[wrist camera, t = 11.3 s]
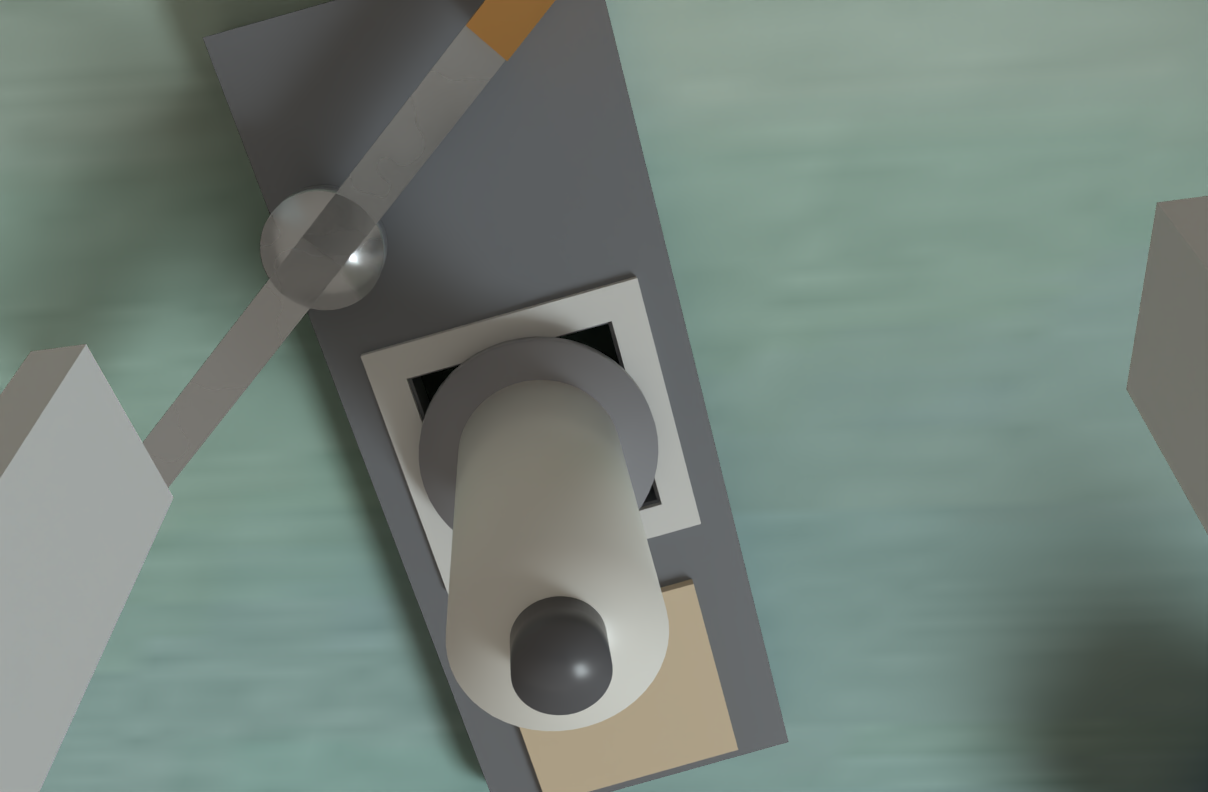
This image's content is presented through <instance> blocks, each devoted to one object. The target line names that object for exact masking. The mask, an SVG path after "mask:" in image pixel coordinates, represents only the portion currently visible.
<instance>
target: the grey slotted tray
mask: <svg viewBox="0 0 1208 792" xmlns="http://www.w3.org/2000/svg"><path fill="white" fill-rule="evenodd" d="M483 1H484V0H334V1H330V2H327V3H323V4H320V5H316V6H313V7H309V8H306V9H302V10H299V11H295V12H292V13H288V14H285V15H281V16H277V17H274V18H270V19H267V20H263V21H260V22H256V23H253V24H249V25H246V26H242V27H239V28H235V29H232V30H228V31H225V32H221V33H218V34H214V35H211V36H207V37H203V40H204V42H205V45H206V48H207V50H208V53H209V56H210V58H211V61H212V63H213V66H214V69H215V71H216V74H217V77H218V79H219V82H220V84H221V87H222V90H223V92H224V95H225V98H226V100H227V103H228V105H229V108H230V111H231V113H232V116H233V119H234V121H235V124H236V126H237V129H238V132H239V134H240V137H241V140H242V142H243V145H244V147H245V150H246V153H247V155H248V158H249V161H250V163H251V166H252V168H253V171H254V174H255V176H256V179H257V182H258V184H259V187H260V189H261V192H262V195H263V197H264V200H265V203H266V205H267V208H268V210H269V213H270V215H271V213H272V212H273V211H274V210H275V209H276V207H277V206H278V205H279V204H280V203H281V202H282V201H283V200H284V199H285V198H286V197H288V196H289V195H290V194H292V193H293V192H295V191H297V190H299V189H301V188H304V187H307V186H310V185H316V184H331V185H337V186H341V185H342V184H343V183H344V181H345V180H346V179H347V177H348V176H349V175H350V174H351V172H352V171H353V170H354V168H355V167H356V166H357V165H358V163H359V162H360V161H361V159H362V158H363V157H364V155H365V154H366V153H367V152H368V150H369V149H370V148H371V146H372V145H373V144H374V143H375V141H376V140H377V139H378V137H379V136H380V135H381V134H382V132H383V131H384V130H385V128H386V127H387V126H388V124H389V123H390V122H391V121H392V119H393V118H394V117H395V115H396V114H397V113H398V112H399V110H400V109H401V108H402V106H403V105H404V104H405V102H406V101H407V100H408V99H409V97H410V96H411V95H412V93H413V92H414V91H415V90H416V88H417V87H418V86H419V84H420V83H421V82H422V81H423V79H424V78H425V77H426V75H427V74H428V73H429V71H430V70H431V69H432V68H433V66H434V65H435V64H436V62H437V61H438V60H439V59H440V57H441V56H442V55H443V53H444V52H445V51H446V49H447V48H448V47H449V46H450V44H451V43H452V42H453V40H454V39H455V38H456V37H457V35H458V34H459V33H460V31H461V30H462V29H463V28H464V26H465V25H466V24H467V22H468V21H469V19H470V18H471V17H472V15H473V14H474V13H475V12H476V10H477V9H478V8H479V6H480V5H481V4H482V2H483ZM381 220H382V222H383V225H384V228H385V231H386V235H387V255H386V260H385V263H384V266H383V269H382V271H381V274H380V277H379V279H378V281H377V283H376V284H375V285H374V287H373V288H372V290H371V291H370V292H369V293H368V294H367V295H366V296H365V297H363V298H362V299H361V300H359V301H358V302H356V303H354V304H352V305H350V306H348V307H344V308H341V309H335V310H316V309H311V308H310V309H309V310H308V311H307V313H308V315H309V318H310V321H311V323H312V326H313V328H314V331H315V334H316V336H317V339H318V342H319V344H320V347H321V349H322V352H323V355H324V357H325V360H326V363H327V365H328V368H329V370H330V373H331V376H332V378H333V381H334V384H335V386H336V389H337V391H338V394H339V397H340V399H341V402H342V405H343V407H344V410H345V412H346V415H347V418H348V420H349V423H350V426H351V428H352V431H353V433H354V436H355V439H356V441H357V444H358V447H359V449H360V452H361V454H362V457H363V460H364V462H365V465H366V468H367V470H368V473H369V475H370V478H371V481H372V483H373V486H374V489H375V491H376V494H377V496H378V499H379V502H380V504H381V507H382V510H383V512H384V515H385V517H386V520H387V523H388V525H389V528H390V531H391V533H392V536H393V538H394V541H395V544H396V546H397V549H398V552H399V554H400V557H401V559H402V562H403V565H404V567H405V570H406V573H407V575H408V578H409V580H410V583H411V586H412V588H413V591H414V593H415V596H416V599H417V601H418V604H419V607H420V609H421V612H422V614H423V617H424V620H425V622H426V625H427V628H428V630H429V633H430V635H431V638H432V641H433V643H434V646H435V649H436V651H437V654H438V656H439V659H440V662H441V664H442V667H443V670H444V672H445V675H446V677H447V680H448V683H449V685H450V688H451V691H452V693H453V696H454V698H455V701H456V704H457V706H458V709H459V712H460V714H461V717H462V719H463V722H464V725H465V727H466V730H467V733H468V735H469V738H470V740H471V743H472V746H473V748H474V751H475V754H476V756H477V759H478V761H479V764H480V767H481V769H482V772H483V775H484V777H485V780H486V782H487V785H488V788H489V790H490V792H611V791H615V790H618V789H622V788H626V787H629V786H633V785H636V784H640V783H643V782H647V781H651V780H654V779H658V778H661V777H665V776H668V775H672V774H676V773H679V772H683V771H686V770H690V769H693V768H697V767H701V766H704V765H708V764H711V763H715V762H719V761H722V760H726V759H729V758H733V757H736V756H740V755H744V754H747V753H751V752H754V751H758V750H761V749H765V748H769V747H772V746H776V745H779V744H783V743H786V742H788V738H787V734H786V730H785V726H784V722H783V718H782V714H781V710H780V706H779V702H778V698H777V694H776V690H775V686H774V682H773V678H772V674H771V670H770V666H769V662H768V657H767V653H766V649H765V645H764V641H763V637H762V633H761V629H760V625H759V621H758V617H757V613H756V609H755V605H754V601H753V597H752V593H751V589H750V585H749V581H748V577H747V572H746V568H745V564H744V560H743V556H742V552H741V548H740V544H739V540H738V536H737V532H736V528H735V524H734V520H733V516H732V512H731V508H730V504H729V500H728V496H727V492H726V488H725V483H724V479H723V475H722V471H721V467H720V463H719V459H718V455H717V451H716V447H715V443H714V439H713V435H712V431H711V427H710V423H709V419H708V415H707V411H706V407H705V403H704V398H703V394H702V390H701V386H700V382H699V378H698V374H697V370H696V366H695V362H694V358H693V354H692V350H691V346H690V342H689V338H688V334H687V330H686V326H685V322H684V318H683V314H682V309H681V305H680V301H679V297H678V293H677V289H676V285H675V281H674V277H673V273H672V269H671V265H670V261H669V257H668V253H667V249H666V245H665V241H664V237H663V233H662V229H661V224H660V220H659V216H658V212H657V208H656V204H655V200H654V196H653V192H652V188H651V184H650V180H649V176H648V172H647V168H646V164H645V160H644V156H643V152H642V148H641V144H640V140H639V135H638V131H637V127H636V123H635V119H634V115H633V111H632V107H631V103H630V99H629V95H628V91H627V87H626V83H625V79H624V75H623V71H622V67H621V63H620V59H619V55H618V50H617V46H616V42H615V38H614V34H613V30H612V26H611V22H610V18H609V14H608V10H607V6H606V2H605V0H555V1H554V3H553V4H552V5H551V6H550V8H549V9H548V10H547V12H546V13H545V14H544V15H543V17H542V18H541V19H540V20H539V22H538V23H537V24H536V25H535V27H534V28H533V29H532V31H531V32H530V33H529V34H528V36H527V37H526V38H525V39H524V41H523V42H522V43H521V44H520V46H519V47H518V48H517V50H516V51H515V52H514V53H513V55H512V56H511V57H510V58H509V60H508V61H506V60H505V62H504V63H503V64H502V65H501V67H500V68H499V69H498V71H497V72H496V73H495V74H494V76H493V77H492V78H491V79H490V81H489V82H488V83H487V84H486V86H485V87H484V88H483V90H482V91H481V92H480V93H479V95H478V96H477V97H476V98H475V100H474V101H473V102H472V103H471V105H470V106H469V107H468V109H467V110H466V111H465V112H464V114H463V115H462V116H461V117H460V119H459V120H458V121H457V122H456V124H455V125H454V126H453V128H452V129H451V130H450V131H449V133H448V134H447V135H446V136H445V138H444V139H443V140H442V141H441V143H440V144H439V145H438V147H437V148H436V149H435V150H434V152H433V153H432V154H431V155H430V157H429V158H428V159H427V160H426V162H425V163H424V164H423V166H422V167H421V168H420V169H419V171H418V172H417V173H416V174H415V176H414V177H413V178H412V179H411V181H410V182H409V183H408V185H407V186H406V187H405V188H404V190H403V191H402V192H401V193H400V195H399V196H398V197H397V198H396V200H395V201H394V202H393V204H392V205H391V206H390V207H389V209H388V210H387V211H386V212H385V214H384V215H383V216H382V217H381ZM604 324H608V327H609V330H610V334H611V338H612V341H613V345H614V349H615V352H616V356H617V359H618V363H619V365H620V366H621V367H622V368H623V369H624V370H625V371H626V372H627V373H628V374H629V375H630V376H631V377H632V378H633V379H634V381H635V382H636V384H637V385H638V387H639V388H640V389H641V391H642V393H643V395H644V397H645V399H646V401H647V403H648V405H649V408H650V410H651V413H652V416H653V419H654V422H655V426H656V431H657V436H658V462H657V469H656V473H655V477H654V481H653V483H652V486H651V489H650V491H649V494H648V495H647V497H646V499H645V501H644V503H643V504H642V506H641V508H640V509H639V512H640V516H641V520H642V523H643V527H644V531H645V534H646V538H647V541H648V545H649V549H650V552H651V556H652V559H653V563H654V567H655V570H656V574H657V577H658V581H659V585H660V588H661V592H662V595H663V599H664V603H665V606H666V610H667V615H668V620H669V639H668V647H667V651H666V655H665V658H664V661H663V663H662V665H661V668H660V670H659V672H658V673H657V675H656V677H655V679H654V680H653V682H652V683H651V684H650V685H649V687H648V688H647V689H646V691H645V692H644V693H643V694H642V695H641V696H640V697H639V698H638V699H637V700H636V701H634V702H633V703H632V704H631V705H629V706H628V707H627V708H626V709H624V710H622V711H621V712H619V713H617V714H616V715H614V716H612V717H610V718H608V719H606V720H604V721H602V722H599V723H596V724H593V725H590V726H587V727H583V728H578V729H574V730H565V731H539V730H531V729H526V728H522V727H518V726H515V725H512V724H509V723H506V722H504V721H502V720H500V719H498V718H495V717H493V716H492V715H490V714H489V713H487V712H486V711H484V710H483V709H481V708H480V707H479V706H478V705H477V704H475V703H474V702H473V701H472V700H471V699H470V698H469V697H468V696H467V694H466V693H465V692H464V691H463V690H462V688H461V687H460V685H459V684H458V682H457V681H456V679H455V677H454V674H453V672H452V670H451V667H450V664H449V661H448V657H447V650H446V624H447V609H448V594H449V579H450V565H451V550H452V535H453V530H452V529H451V528H450V527H449V526H448V525H447V524H446V523H445V522H444V520H443V519H442V518H441V517H440V516H439V514H438V513H437V511H436V510H435V508H434V507H433V505H432V503H431V502H430V500H429V497H428V495H427V493H426V491H425V488H424V485H423V481H422V478H421V474H420V466H419V442H420V435H421V429H422V423H423V420H424V417H425V414H426V410H427V408H428V406H429V404H430V402H429V399H428V396H427V393H426V390H425V387H424V384H423V382H422V379H421V376H423V375H427V374H430V373H434V372H437V371H441V370H444V369H448V368H451V367H455V366H459V365H460V364H462V363H463V362H464V361H466V360H467V359H469V358H470V357H472V356H473V355H475V354H476V353H478V352H480V351H482V350H484V349H486V348H488V347H490V346H493V345H496V344H499V343H501V342H504V341H508V340H513V339H518V338H524V337H536V336H540V337H556V338H558V337H561V336H565V335H569V334H572V333H576V332H579V331H583V330H586V329H590V328H593V327H597V326H600V325H604Z"/></svg>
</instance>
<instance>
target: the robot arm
mask: <svg viewBox="0 0 1208 792" xmlns="http://www.w3.org/2000/svg"><path fill="white" fill-rule="evenodd" d="M1126 389H1127V391H1128V393H1129V395H1130V396H1131V398H1132V400H1133V402H1134V404H1135V405H1136V407H1137V409H1138V411H1139V412H1140V414H1141V416H1142V418H1143V420H1144V421H1145V423H1146V425H1147V427H1148V429H1149V430H1150V432H1151V434H1152V436H1153V437H1154V439H1155V441H1156V443H1157V445H1158V446H1159V448H1160V450H1161V452H1162V454H1163V455H1164V457H1165V459H1166V461H1167V462H1168V464H1169V466H1170V468H1171V470H1172V471H1173V473H1174V475H1175V477H1176V479H1177V480H1178V482H1179V484H1180V486H1181V487H1182V489H1183V491H1184V493H1185V495H1186V496H1187V498H1188V500H1189V502H1190V504H1191V505H1192V507H1193V509H1194V511H1195V512H1196V514H1197V516H1198V518H1199V520H1200V521H1201V523H1202V525H1203V527H1204V529H1205V530H1206V532H1207V534H1208V196H1203V197H1195V198H1188V199H1180V200H1173V201H1165V202H1158V203H1157V205H1156V211H1155V218H1154V224H1153V230H1152V236H1151V242H1150V248H1149V254H1148V260H1147V266H1146V272H1145V279H1144V285H1143V291H1142V297H1141V303H1140V309H1139V315H1138V321H1137V327H1136V333H1135V340H1134V346H1133V352H1132V358H1131V364H1130V370H1129V376H1128V382H1127V388H1126ZM172 500H173V496H172V494H171V492H170V490H169V489H168V487H167V485H166V483H165V482H164V480H163V478H162V476H161V475H160V473H159V471H158V469H157V468H156V466H155V464H154V462H153V460H152V459H151V457H150V455H149V453H148V452H147V450H146V448H145V446H144V445H143V443H142V441H141V439H140V438H139V436H138V434H137V432H136V431H135V429H134V427H133V425H132V424H131V422H130V420H129V418H128V417H127V415H126V413H125V411H124V410H123V408H122V406H121V404H120V403H119V401H118V399H117V397H116V395H115V394H114V392H113V390H112V388H111V387H110V385H109V383H108V381H107V380H106V378H105V376H104V374H103V373H102V371H101V369H100V367H99V366H98V364H97V362H96V360H95V359H94V357H93V355H92V353H91V352H90V350H89V348H88V346H87V345H86V344H83V345H76V346H68V347H60V348H53V349H45V350H38V351H31V352H30V353H29V355H28V356H27V358H26V359H25V361H24V362H23V363H22V365H21V366H20V368H19V369H18V370H17V372H16V373H15V375H14V376H13V378H12V379H11V380H10V382H9V383H8V385H7V386H6V388H5V389H4V390H3V392H2V393H1V395H0V792H40V789H41V787H42V785H43V783H44V781H45V778H46V776H47V774H48V772H49V770H50V767H51V765H52V763H53V761H54V759H55V756H56V754H57V752H58V750H59V748H60V745H61V743H62V741H63V739H64V737H65V734H66V732H67V730H68V728H69V726H70V724H71V721H72V719H73V717H74V715H75V713H76V710H77V708H78V706H79V704H80V702H81V699H82V697H83V695H84V693H85V691H86V688H87V686H88V684H89V682H90V680H91V677H92V675H93V673H94V671H95V669H96V666H97V664H98V662H99V660H100V658H101V655H102V653H103V651H104V649H105V647H106V644H107V642H108V640H109V638H110V636H111V633H112V631H113V629H114V627H115V625H116V623H117V620H118V618H119V616H120V614H121V612H122V609H123V607H124V605H125V603H126V601H127V598H128V596H129V594H130V592H131V590H132V587H133V585H134V583H135V581H136V579H137V576H138V574H139V572H140V570H141V568H142V565H143V563H144V561H145V559H146V557H147V554H148V552H149V550H150V548H151V546H152V543H153V541H154V539H155V537H156V535H157V533H158V530H159V528H160V526H161V524H162V522H163V519H164V517H165V515H166V513H167V511H168V508H169V506H170V504H171V502H172Z"/></svg>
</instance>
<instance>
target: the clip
mask: <svg viewBox="0 0 1208 792" xmlns="http://www.w3.org/2000/svg"><path fill="white" fill-rule="evenodd" d="M554 1H555V0H484V1H483V2H482V4H481V5H480V6H479V8H478V9H477V10H476V12H475V13H474V14H473V15H472V17H471V18H470V19H469V21H468V22H467V24H466V25H465V26H464V28H463V29H462V30H461V31H460V33H459V34H458V35H457V37H456V38H455V39H454V40H453V42H452V43H451V44H450V46H449V47H448V48H447V49H446V51H445V52H444V53H443V55H442V56H441V57H440V59H439V60H438V61H437V62H436V64H435V65H434V66H433V68H432V69H431V70H430V71H429V73H428V74H427V75H426V77H425V78H424V79H423V81H422V82H421V83H420V84H419V86H418V87H417V88H416V90H415V91H414V92H413V93H412V95H411V96H410V97H409V99H408V100H407V101H406V102H405V104H404V105H403V106H402V108H401V109H400V110H399V112H398V113H397V114H396V115H395V117H394V118H393V119H392V121H391V122H390V123H389V124H388V126H387V127H386V128H385V130H384V131H383V132H382V134H381V135H380V136H379V137H378V139H377V140H376V141H375V143H374V144H373V145H372V146H371V148H370V149H369V150H368V152H367V153H366V154H365V155H364V157H363V158H362V159H361V161H360V162H359V163H358V165H357V166H356V167H355V168H354V170H353V171H352V172H351V174H350V175H349V176H348V177H347V179H346V180H345V181H344V183H343V184H342V185H341V186H337V185H331V184H316V185H310V186H307V187H304V188H301V189H299V190H297V191H295V192H293V193H292V194H290V195H289V196H288V197H286V198H285V199H284V200H283V201H282V202H281V203H280V204H279V205H278V206H277V207H276V209H275V210H274V211H273V212H272V213H271V215H270V216H269V218H268V219H267V221H266V223H265V225H264V227H263V231H262V234H261V240H260V253H261V260H262V263H263V267H264V269H265V271H266V274H267V275H268V277H269V280H268V281H267V282H266V283H265V285H264V286H263V287H262V289H261V290H260V291H259V293H258V294H257V295H256V296H255V298H254V299H253V300H252V302H251V303H250V304H249V305H248V307H247V308H246V309H245V311H244V312H243V313H242V315H241V316H240V317H239V318H238V320H237V321H236V322H235V324H234V325H233V326H232V327H231V329H230V330H229V331H228V333H227V334H226V335H225V337H224V338H223V339H222V340H221V342H220V343H219V344H218V346H217V347H216V348H215V349H214V351H213V352H212V353H211V355H210V356H209V357H208V358H207V360H206V361H205V362H204V364H203V365H202V366H201V368H200V369H199V370H198V371H197V373H196V374H195V375H194V377H193V378H192V379H191V380H190V382H189V383H188V384H187V386H186V387H185V388H184V390H183V391H182V392H181V393H180V395H179V396H178V397H177V399H176V400H175V401H174V402H173V404H172V405H171V406H170V408H169V409H168V410H167V411H166V413H165V414H164V415H163V417H162V418H161V419H160V421H159V422H158V423H157V424H156V426H155V427H154V428H153V430H152V431H151V432H150V433H149V435H148V436H147V437H146V439H145V440H144V441H143V445H144V446H145V448H146V450H147V452H148V453H149V455H150V457H151V459H152V460H153V462H154V464H155V466H156V468H157V469H158V471H159V473H160V475H161V476H162V478H163V480H164V482H165V483H166V485H167V487H169V486H170V485H171V483H172V482H173V481H174V480H175V478H176V477H177V476H178V475H179V473H180V472H181V471H182V469H183V468H184V467H185V466H186V464H187V463H188V462H189V461H190V459H191V458H192V457H193V456H194V454H195V453H196V452H197V450H198V449H199V448H200V447H201V445H202V444H203V443H204V442H205V440H206V439H207V438H208V437H209V435H210V434H211V433H212V431H213V430H214V429H215V428H216V426H217V425H218V424H219V423H220V421H221V420H222V419H223V418H224V416H225V415H226V414H227V412H228V411H229V410H230V409H231V407H232V406H233V405H234V404H235V402H236V401H237V400H238V399H239V397H240V396H241V395H242V393H243V392H244V391H245V390H246V388H247V387H248V386H249V385H250V383H251V382H252V381H253V380H254V378H255V377H256V376H257V374H258V373H259V372H260V371H261V369H262V368H263V367H264V366H265V364H266V363H267V362H268V361H269V359H270V358H271V357H272V355H273V354H274V353H275V352H276V350H277V349H278V348H279V347H280V345H281V344H282V343H283V342H284V340H285V339H286V338H287V336H288V335H289V334H290V333H291V331H292V330H293V329H294V328H295V326H296V325H297V324H298V323H299V321H300V320H301V319H302V317H303V316H304V315H305V314H306V312H307V311H308V310H309V309H310V308H311V309H316V310H335V309H341V308H344V307H348V306H350V305H352V304H354V303H356V302H358V301H359V300H361V299H362V298H363V297H365V296H366V295H367V294H368V293H369V292H370V291H371V290H372V288H373V287H374V285H375V284H376V283H377V281H378V279H379V277H380V274H381V271H382V269H383V266H384V263H385V260H386V255H387V235H386V231H385V228H384V225H383V222H382V220H381V217H382V216H383V215H384V214H385V212H386V211H387V210H388V209H389V207H390V206H391V205H392V204H393V202H394V201H395V200H396V198H397V197H398V196H399V195H400V193H401V192H402V191H403V190H404V188H405V187H406V186H407V185H408V183H409V182H410V181H411V179H412V178H413V177H414V176H415V174H416V173H417V172H418V171H419V169H420V168H421V167H422V166H423V164H424V163H425V162H426V160H427V159H428V158H429V157H430V155H431V154H432V153H433V152H434V150H435V149H436V148H437V147H438V145H439V144H440V143H441V141H442V140H443V139H444V138H445V136H446V135H447V134H448V133H449V131H450V130H451V129H452V128H453V126H454V125H455V124H456V122H457V121H458V120H459V119H460V117H461V116H462V115H463V114H464V112H465V111H466V110H467V109H468V107H469V106H470V105H471V103H472V102H473V101H474V100H475V98H476V97H477V96H478V95H479V93H480V92H481V91H482V90H483V88H484V87H485V86H486V84H487V83H488V82H489V81H490V79H491V78H492V77H493V76H494V74H495V73H496V72H497V71H498V69H499V68H500V67H501V65H502V64H503V63H504V62H505V60H506V61H508V60H509V58H510V57H511V56H512V55H513V53H514V52H515V51H516V50H517V48H518V47H519V46H520V44H521V43H522V42H523V41H524V39H525V38H526V37H527V36H528V34H529V33H530V32H531V31H532V29H533V28H534V27H535V25H536V24H537V23H538V22H539V20H540V19H541V18H542V17H543V15H544V14H545V13H546V12H547V10H548V9H549V8H550V6H551V5H552V4H553V3H554Z"/></svg>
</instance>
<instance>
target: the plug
mask: <svg viewBox="0 0 1208 792" xmlns="http://www.w3.org/2000/svg"><path fill="white" fill-rule="evenodd" d="M657 462H658V436H657V431H656V426H655V422H654V419H653V416H652V413H651V410H650V408H649V405H648V403H647V401H646V399H645V397H644V395H643V393H642V391H641V389H640V388H639V387H638V385H637V384H636V382H635V381H634V379H633V378H632V377H631V376H630V375H629V374H628V373H627V372H626V371H625V370H624V369H623V368H622V367H621V366H620V365H619V364H617V363H616V362H615V361H614V360H612V359H611V358H610V357H608V356H606V355H605V354H603V353H601V352H600V351H598V350H596V349H594V348H592V347H589V346H587V345H585V344H582V343H579V342H575V341H572V340H568V339H562V338H556V337H540V336H536V337H524V338H518V339H513V340H508V341H504V342H501V343H499V344H496V345H493V346H490V347H488V348H486V349H484V350H482V351H480V352H478V353H476V354H475V355H473V356H472V357H470V358H469V359H467V360H466V361H464V362H463V363H462V364H460V365H459V366H458V367H457V368H456V369H455V370H454V371H453V372H451V373H450V375H449V376H448V377H447V378H446V379H445V380H444V382H443V383H442V384H441V385H440V387H439V388H438V390H437V391H436V393H435V394H434V396H433V398H432V400H431V402H430V404H429V406H428V408H427V410H426V414H425V417H424V420H423V423H422V429H421V435H420V442H419V466H420V474H421V478H422V481H423V485H424V488H425V491H426V493H427V495H428V497H429V500H430V502H431V503H432V505H433V507H434V508H435V510H436V511H437V513H438V514H439V516H440V517H441V518H442V519H443V520H444V522H445V523H446V524H447V525H448V526H449V527H450V528H451V529H452V530H453V535H452V550H451V565H450V579H449V594H448V609H447V624H446V650H447V657H448V661H449V664H450V667H451V670H452V672H453V674H454V677H455V679H456V681H457V682H458V684H459V685H460V687H461V688H462V690H463V691H464V692H465V693H466V694H467V696H468V697H469V698H470V699H471V700H472V701H473V702H474V703H475V704H477V705H478V706H479V707H480V708H481V709H483V710H484V711H486V712H487V713H489V714H490V715H492V716H493V717H495V718H498V719H500V720H502V721H504V722H506V723H509V724H512V725H515V726H518V727H522V728H526V729H531V730H539V731H565V730H574V729H578V728H583V727H587V726H590V725H593V724H596V723H599V722H602V721H604V720H606V719H608V718H610V717H612V716H614V715H616V714H617V713H619V712H621V711H622V710H624V709H626V708H627V707H628V706H629V705H631V704H632V703H633V702H634V701H636V700H637V699H638V698H639V697H640V696H641V695H642V694H643V693H644V692H645V691H646V689H647V688H648V687H649V685H650V684H651V683H652V682H653V680H654V679H655V677H656V675H657V673H658V672H659V670H660V668H661V665H662V663H663V661H664V658H665V655H666V651H667V647H668V639H669V620H668V615H667V610H666V606H665V603H664V599H663V595H662V592H661V588H660V585H659V581H658V577H657V574H656V570H655V567H654V563H653V559H652V556H651V552H650V549H649V545H648V541H647V538H646V534H645V531H644V527H643V523H642V520H641V516H640V512H639V509H640V508H641V506H642V504H643V503H644V501H645V499H646V497H647V495H648V494H649V491H650V489H651V486H652V483H653V481H654V477H655V473H656V469H657Z"/></svg>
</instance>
